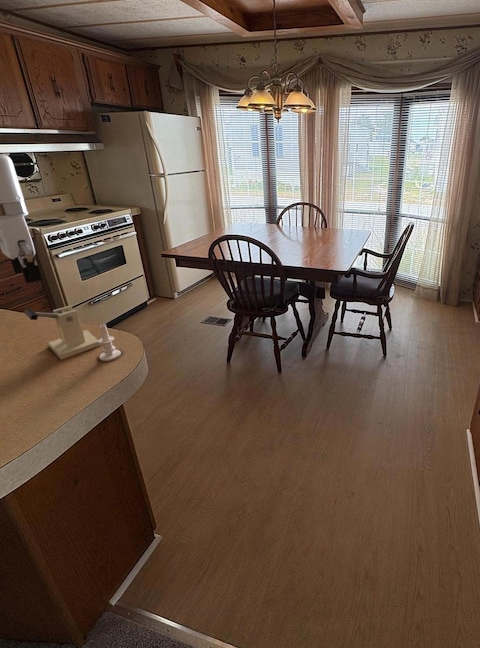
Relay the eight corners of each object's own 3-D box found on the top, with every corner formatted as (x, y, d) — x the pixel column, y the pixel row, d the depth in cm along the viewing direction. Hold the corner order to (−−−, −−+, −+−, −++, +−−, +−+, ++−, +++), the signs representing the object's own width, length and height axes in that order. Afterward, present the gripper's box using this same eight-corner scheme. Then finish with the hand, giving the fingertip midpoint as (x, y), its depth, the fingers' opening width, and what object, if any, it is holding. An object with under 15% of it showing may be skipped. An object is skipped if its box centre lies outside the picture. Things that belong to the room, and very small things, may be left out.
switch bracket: (61, 359, 94) (49, 322, 90) (49, 346, 100) (37, 310, 96) (100, 345, 102) (91, 309, 97) (87, 334, 107) (78, 300, 103)
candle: (105, 363, 94) (97, 330, 90) (95, 357, 96) (87, 324, 92) (124, 354, 98) (117, 322, 94) (114, 348, 100) (106, 317, 96)
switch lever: (30, 321, 88) (32, 312, 88) (23, 314, 92) (25, 306, 92) (74, 323, 97) (77, 315, 96) (67, 317, 100) (69, 309, 100)
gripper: (-23, 206, 83) (1, 272, 90) (-6, 216, 73) (19, 289, 80) (16, 203, 89) (36, 265, 95) (37, 212, 79) (57, 281, 85)
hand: (28, 276), depth 88 cm, fingers open, 9 cm apart
